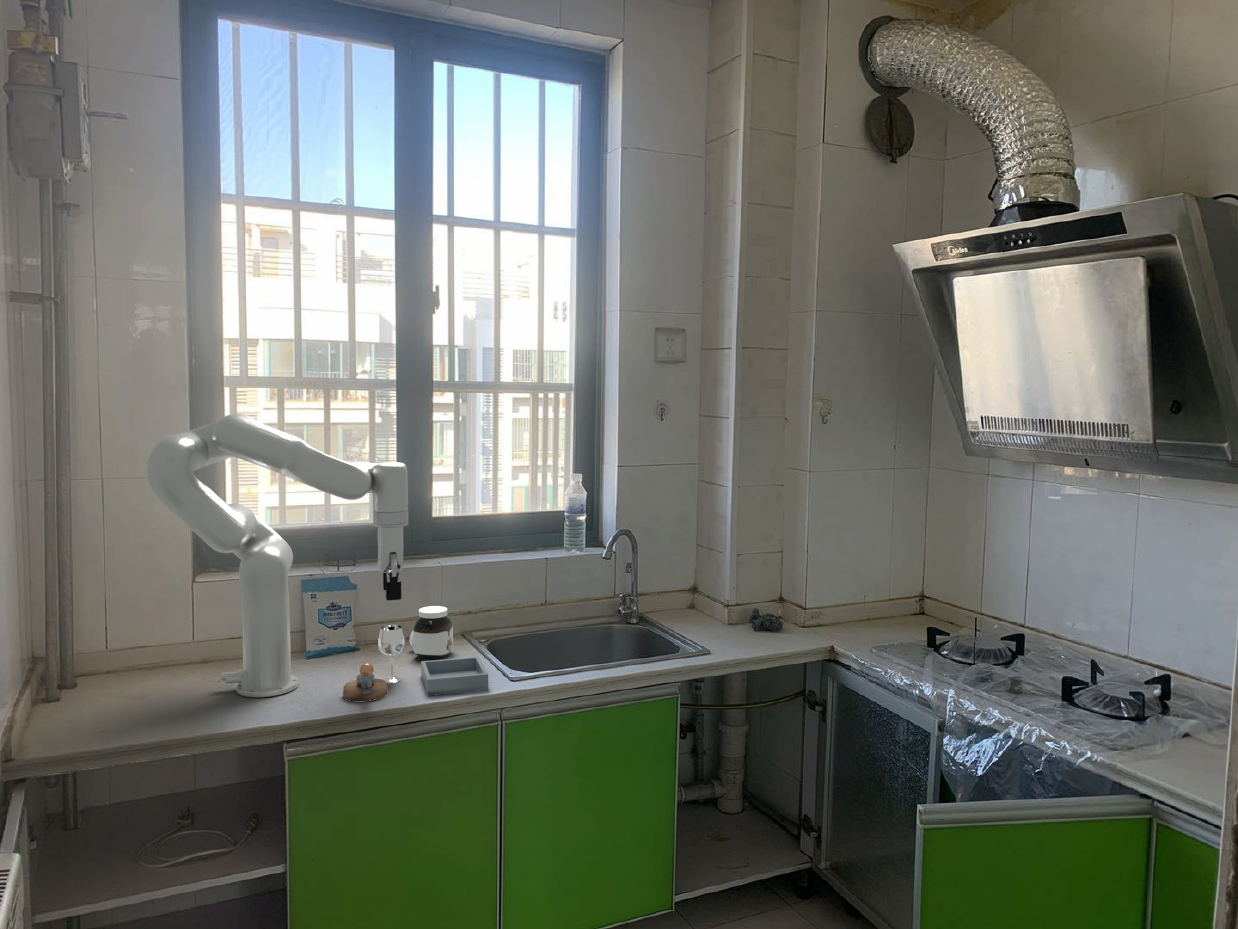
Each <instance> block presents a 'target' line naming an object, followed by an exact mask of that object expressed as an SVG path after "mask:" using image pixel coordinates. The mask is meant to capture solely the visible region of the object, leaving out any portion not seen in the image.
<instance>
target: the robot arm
mask: <svg viewBox="0 0 1238 929" xmlns="http://www.w3.org/2000/svg"><path fill="white" fill-rule="evenodd" d="M233 457H234V458H237V459H240V460H242V461H246V462H248V463H251V464H254V465H257V466H259V467H262V468H265V469H268V470H270V471H273V472H274V473H275V472H276V473H278V474H280V475H283V476H285V477H286V478H288V479H292V480H294V481H296V482H299V483H302V484H303V485H305V486H309V487H310V488H313V489H315V490H318V491H321V492H324V493H327V494H330V495H333V496H335V497H337V498H341V499H344V500H349V501H355V500H359V499H362V498H363V497H364V496H366V495H367V494H372V522H373V524H372V525H373V527H374V528H375V527H376V528H377V566H378V570H379V572H381V573H382V585H383V587H382V588H383V591H385V599H386V601H387V602H388V601H401V600H402V581H401V571H402V570H403V567H404V566H403V564H404V527H406V526H408V525H409V491H408V490H409V487H408V486H409V484H408V482H409V481H408V480H409V478H408V476H409V475H408V468H407V465H406V464H405V463H403V462H399V461H398V462H396V461H393V462H392V461H388V462H387V461H386V462H378V463H373V462H363V461H348V462H347V461H344V460H341V459H339V458H336V457H334V456H331V455H328V454H326V453H324V452H322V451H320V450H318V449H316V448H314V447H312V446H311V445H309V444H308V443H307V442H306V441H305V440H303V439H302V438H300V437H297V436H295V435H294V434H290V433H287V432H284V431H281V430H279V429H276V428H274V427H271V426H269V425H265V424H264V423H261V422H258V421H257V420H256V419H254V418H253V417H252V416H250V415H247V414H245V413H234V414H233V413H231V414H228V415H225V416H223V417H222V418H220V419H219V420H217V421H214V422H211V423H208V424H205V425H202V426H199V427H196V428H192V429H191V430H187V431H183V432H180V433H175V434H171V435H167V436H165V437H164V438H161V439H160V440H159V441H157V443H156V444H155V445H154V446H153V447H152V449H151V451H150V454H149V456H148V458H147V462H146V464H147V465H146V479H147V482H148V485H149V487H150V488H151V491H152V493H153V494H154V496H155V497H156V498H157V499H158V500H159V501H160V502H161V503H162V505H164V506H165V507H166V508H167V509H168V510H169V511H171V513H173V514H174V516H176V517H177V518H178V519H179V520H180V521H181V522H182V523H184V525H186V527H188V528H189V529H190V530H191V531H192V532H193V533H195V534H196V536H197V537H199V538H200V539H201V540H203V541H204V542H205V544H206V545H207V546H208V547H210V548H211V549H213V551H215V552H218V553H222V554H231V553H232V554H234V555H235V556H236V557H237V558H239V560H241V561H240V563H239V568H238V569H239V570H238V580H239V590H240V602H241V621H242V626H241V627H242V659H243V661H242V668H241V669H237V670H236V671H227V672H226V671H225V672H223V671H222V672H221V673H220V674H221V675H220V681H221V682H222V683H223V682H225V684H235V683H236V686H235V691H236V693H237V694H238V695H240V696H242V697H247V698H266V697H267V698H268V697H269V698H270V697H275V696H280V695H284V694H287V693H289V692H291V691H293V690H295V689H297V688H298V687H299V683H300V682H299V678H298V677H297V676H296V675H293V674H292V668H291V667H292V663H291V662H292V660H291V619H290V618H291V616H290V613H291V612H290V593H289V572H290V570H291V567H292V566H293V562H294V552H293V551H292V547H291V546H290V545H289V544H288V542H287V541H286V540H285V539H284V538H283V537H281V535H280V534H278V532H276V531H275V529H273V528H272V527H271V526H269V525H268V524H267V522H266V521H264V520H263V519H262V518H261V517H259V515H257V514H256V513H255V512H254V511H252V509H250V508H248V507H247V506H244V505H242V504H238V503H227V502H226V501H225V500H223V499H222V498H221V497H220V496H219V495H217V493H215V492H214V490H212V488H210V487H209V486H208V485H207V484H205V483H204V482H203V481H201V480H200V479H199V478H198V477H197V476H196V475H195V473H194V472H195V471H197V470H199V469H201V468H205V467H207V466H211V465H213V464H216V463H218V462H222V461H224V460H227V459H229V458H233Z"/></svg>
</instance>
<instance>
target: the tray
mask: <svg viewBox="0 0 1238 929" xmlns="http://www.w3.org/2000/svg"><path fill="white" fill-rule="evenodd" d="M420 665H421V666H420V668H421V669H420V672H421V675H420V676H421V680H422V683H423V687H424V689H425V692H426V695H431V696H436V695H435V694H441V695H446V694H445V693H451V694H461V693H468V692H469V693H470V692H481V691H480V690H482V691H488V690H489V673H488V671H487V669H486V668H485V665H484V664H483V662H482V660H481V659H480V656H469V657H458V658H447V659H446V658H444V659H440V660H423V661H422V660H421V661H420Z"/></svg>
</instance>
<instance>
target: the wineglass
mask: <svg viewBox="0 0 1238 929" xmlns="http://www.w3.org/2000/svg"><path fill="white" fill-rule="evenodd" d="M377 640H378V641H377V642H378V644H377V645H378V650H379V651H380V653H381V654H383V655H384V656H388V657H389V659H388V660H389V663H390V675H389V676H385V677H384V678H382V679H381V680H384V681H386V682H387V684H397V683H399V681H400V682H401V681H403V677H401V676H397V675H394V674H395V673H394V662H395V658H394V656H397V655H399V654H400V653H402V652H403V650H404V649H405V645H406V641H405V640H406V639H405V633H404V629H403V626H402V625H400V624H387V625H386V624H385V625H383V626H381V627H380V629H379V633H378V639H377Z"/></svg>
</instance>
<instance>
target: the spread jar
mask: <svg viewBox="0 0 1238 929" xmlns="http://www.w3.org/2000/svg"><path fill="white" fill-rule="evenodd" d="M418 616H419V617H418V618H417V619H416V621H415V624H414V626H413V630H412V631H411V633H410V636H409V644H410V646H412V648H413V649H412V650H413V653H414V655H415V656H416V657H417V658H419V659H421V660H423V661H432V660H444V659H446V658H447V657H448V656H449V655H450V653H451V651H452V649H453V643H454V642H453V641H454V625H453V622H452V620H451V618H450V617H449V616H448V607H445V606H441V605H430V606H425V607H421V608H419V609H418Z"/></svg>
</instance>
